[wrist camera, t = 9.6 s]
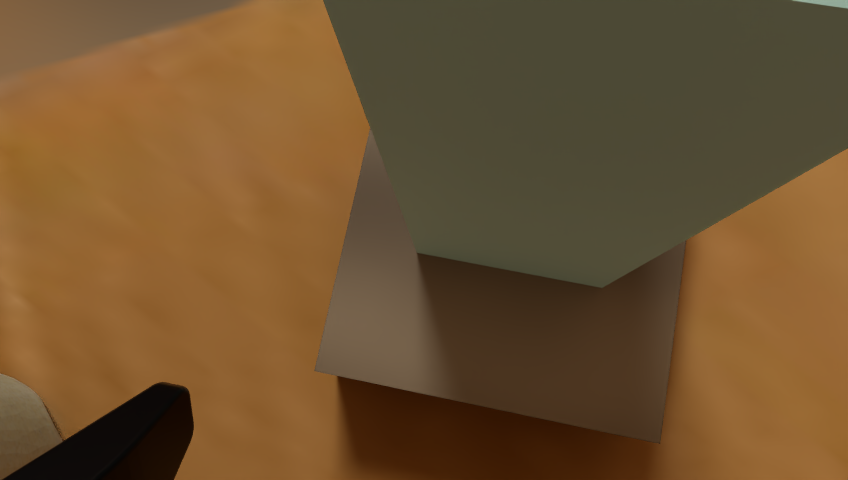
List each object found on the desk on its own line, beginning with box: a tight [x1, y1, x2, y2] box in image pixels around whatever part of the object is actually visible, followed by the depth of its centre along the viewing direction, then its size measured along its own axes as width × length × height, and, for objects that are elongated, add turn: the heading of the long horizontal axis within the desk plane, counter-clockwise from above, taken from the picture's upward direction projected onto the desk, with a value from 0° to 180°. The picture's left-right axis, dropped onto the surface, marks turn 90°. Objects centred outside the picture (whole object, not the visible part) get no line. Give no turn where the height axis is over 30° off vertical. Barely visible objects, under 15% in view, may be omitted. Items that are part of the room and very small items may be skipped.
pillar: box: [323, 0, 848, 288], centre depth 11 cm, size 5×5×13 cm
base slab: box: [315, 128, 686, 444], centre depth 19 cm, size 9×9×3 cm
